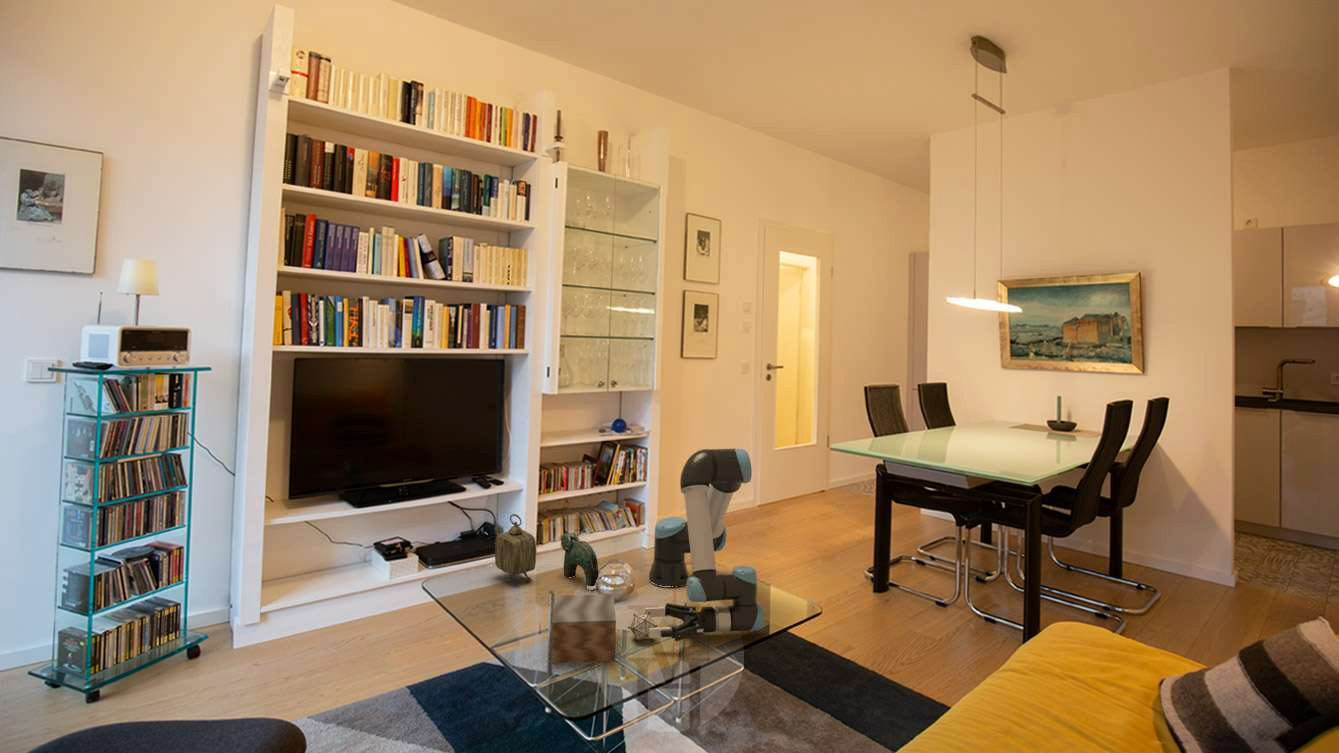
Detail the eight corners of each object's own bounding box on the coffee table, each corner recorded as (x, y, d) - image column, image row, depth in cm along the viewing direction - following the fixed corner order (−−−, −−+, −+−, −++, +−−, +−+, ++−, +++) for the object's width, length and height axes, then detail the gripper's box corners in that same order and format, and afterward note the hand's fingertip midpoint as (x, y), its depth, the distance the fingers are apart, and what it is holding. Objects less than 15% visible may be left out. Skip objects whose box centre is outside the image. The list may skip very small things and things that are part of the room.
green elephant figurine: (558, 575, 245) (559, 524, 244) (573, 571, 250) (573, 521, 248) (588, 592, 231) (589, 538, 229) (603, 588, 235) (604, 535, 233)
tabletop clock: (535, 582, 239) (536, 516, 237) (515, 589, 232) (515, 521, 230) (513, 571, 249) (514, 508, 247) (493, 577, 242) (493, 512, 240)
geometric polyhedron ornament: (646, 653, 197) (652, 637, 190) (621, 640, 198) (627, 624, 192) (657, 628, 203) (664, 612, 197) (633, 616, 205) (639, 600, 198)
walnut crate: (612, 630, 202) (613, 594, 202) (615, 660, 185) (615, 620, 184) (554, 632, 200) (555, 595, 199) (551, 663, 182) (552, 622, 181)
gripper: (723, 651, 188) (651, 655, 185) (706, 613, 212) (642, 616, 209) (723, 626, 187) (651, 630, 184) (706, 591, 212) (643, 593, 209)
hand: (646, 622), depth 197 cm, fingers open, 13 cm apart
